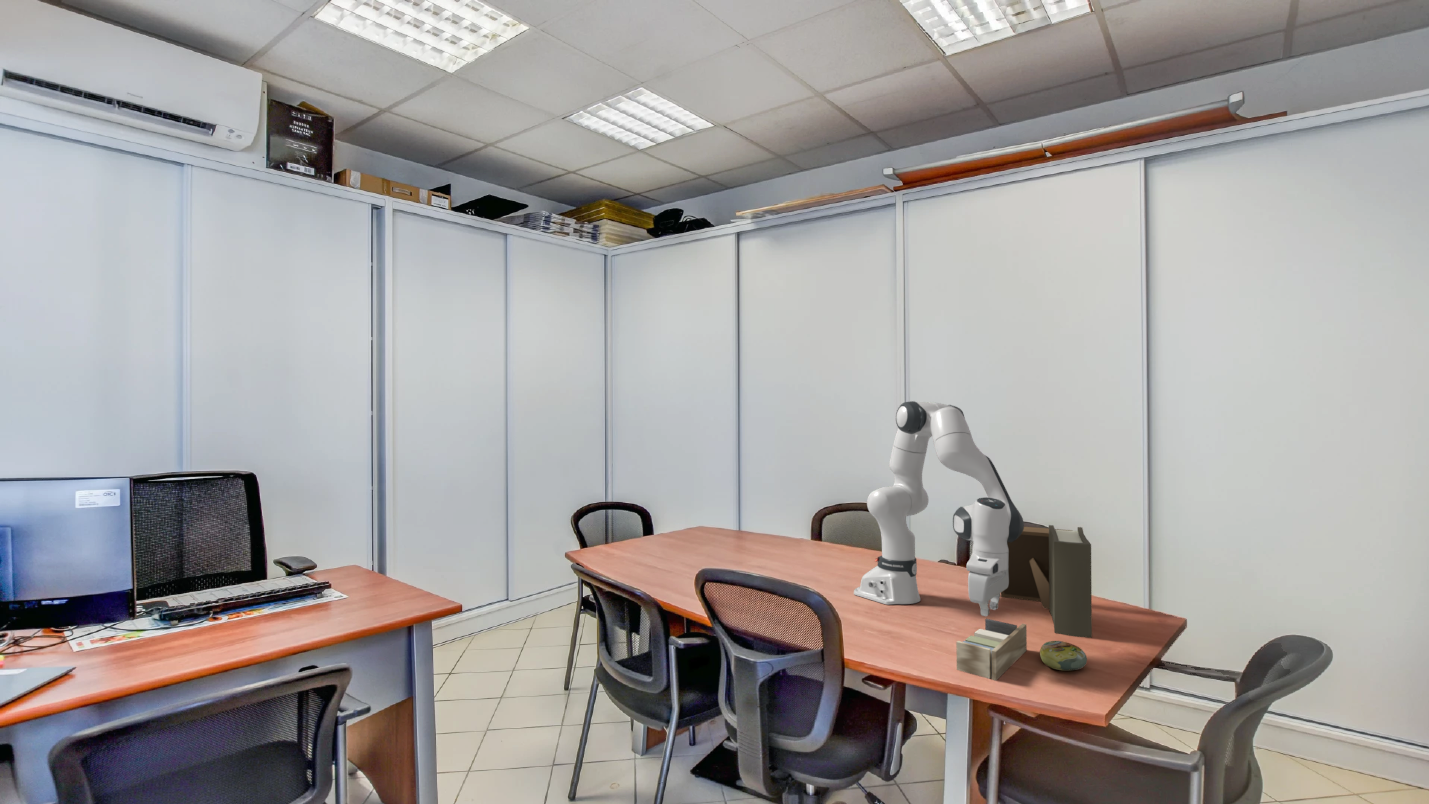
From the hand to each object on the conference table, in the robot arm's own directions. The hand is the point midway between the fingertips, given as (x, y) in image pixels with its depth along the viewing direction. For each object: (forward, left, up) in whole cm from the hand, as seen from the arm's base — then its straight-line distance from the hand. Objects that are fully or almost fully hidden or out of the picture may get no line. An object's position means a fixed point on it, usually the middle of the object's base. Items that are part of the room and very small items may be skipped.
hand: (989, 612), depth 165 cm
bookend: (+1, +10, -11) cm, 15 cm away
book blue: (+1, -11, -12) cm, 16 cm away
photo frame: (-3, +55, -12) cm, 56 cm away
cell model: (+16, +7, -12) cm, 21 cm away
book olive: (+1, -6, -12) cm, 13 cm away
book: (+10, +40, -12) cm, 43 cm away
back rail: (+1, -2, -12) cm, 12 cm away
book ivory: (+1, 0, -12) cm, 12 cm away
